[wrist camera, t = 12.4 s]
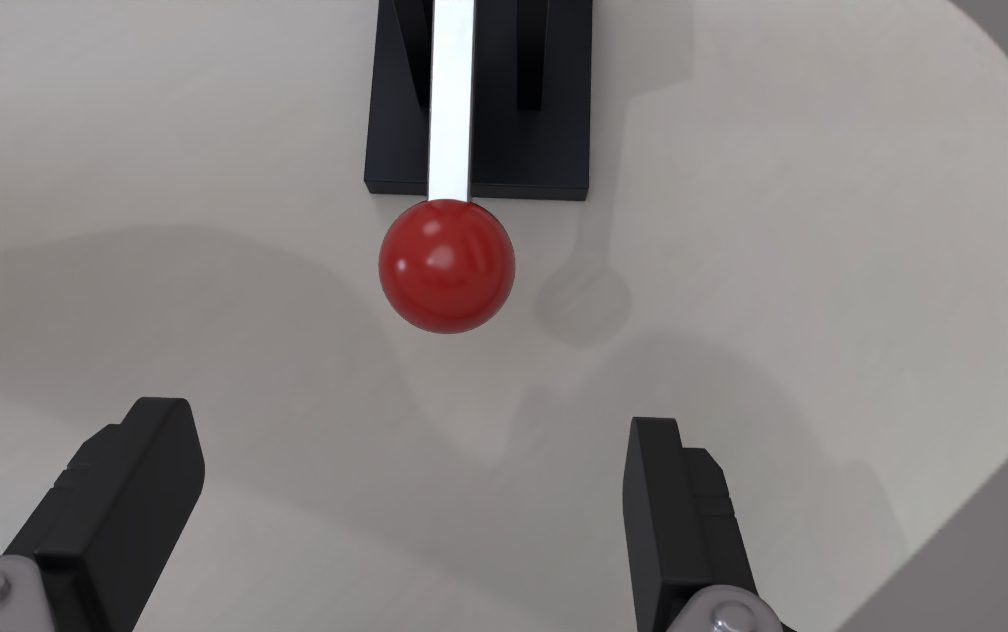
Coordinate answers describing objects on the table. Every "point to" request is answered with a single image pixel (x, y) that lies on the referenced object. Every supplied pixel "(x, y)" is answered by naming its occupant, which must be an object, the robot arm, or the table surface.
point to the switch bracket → (488, 99)
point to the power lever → (449, 202)
